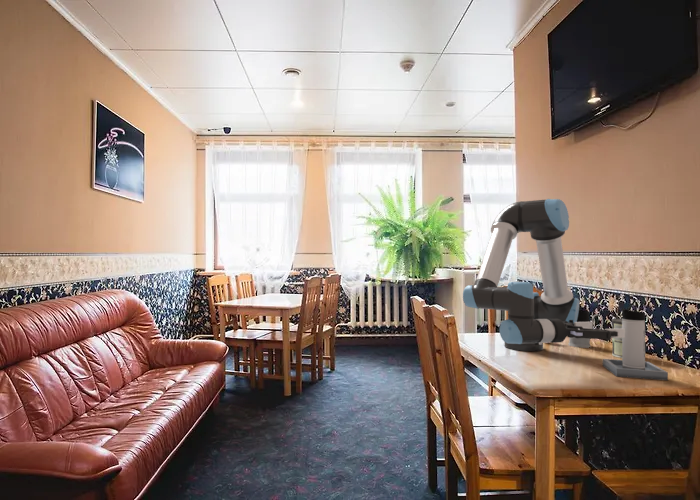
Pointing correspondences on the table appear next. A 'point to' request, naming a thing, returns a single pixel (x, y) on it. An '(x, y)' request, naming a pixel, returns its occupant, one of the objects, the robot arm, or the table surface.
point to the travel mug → (633, 340)
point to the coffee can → (617, 339)
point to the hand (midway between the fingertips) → (607, 329)
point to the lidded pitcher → (582, 342)
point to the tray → (635, 370)
